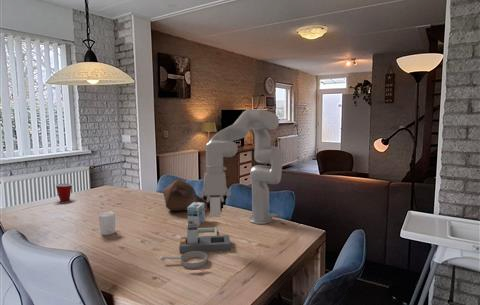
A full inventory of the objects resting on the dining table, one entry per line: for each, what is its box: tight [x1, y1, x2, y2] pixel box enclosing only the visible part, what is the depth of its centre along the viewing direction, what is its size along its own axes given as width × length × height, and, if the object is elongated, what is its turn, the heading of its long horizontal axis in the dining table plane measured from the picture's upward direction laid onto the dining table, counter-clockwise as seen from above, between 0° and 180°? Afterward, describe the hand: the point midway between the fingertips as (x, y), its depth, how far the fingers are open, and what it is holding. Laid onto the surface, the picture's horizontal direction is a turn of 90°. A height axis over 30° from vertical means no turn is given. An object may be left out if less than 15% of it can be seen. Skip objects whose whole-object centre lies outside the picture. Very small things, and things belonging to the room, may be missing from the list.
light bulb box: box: [186, 202, 206, 227], centre depth 172 cm, size 11×7×11 cm, turn 168°
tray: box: [198, 227, 218, 236], centre depth 153 cm, size 11×11×2 cm
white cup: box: [98, 211, 116, 236], centre depth 160 cm, size 8×8×10 cm
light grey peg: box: [186, 224, 199, 244], centre depth 138 cm, size 4×4×10 cm
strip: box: [178, 234, 232, 254], centre depth 139 cm, size 22×10×5 cm, turn 96°
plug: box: [209, 195, 221, 218], centre depth 139 cm, size 4×4×10 cm
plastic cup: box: [55, 182, 74, 203], centre depth 221 cm, size 11×11×12 cm
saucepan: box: [161, 251, 208, 271], centre depth 125 cm, size 11×18×4 cm, turn 92°
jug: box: [162, 179, 208, 212], centre depth 196 cm, size 20×20×30 cm
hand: (215, 209), depth 139 cm, fingers closed on plug, 4 cm apart
